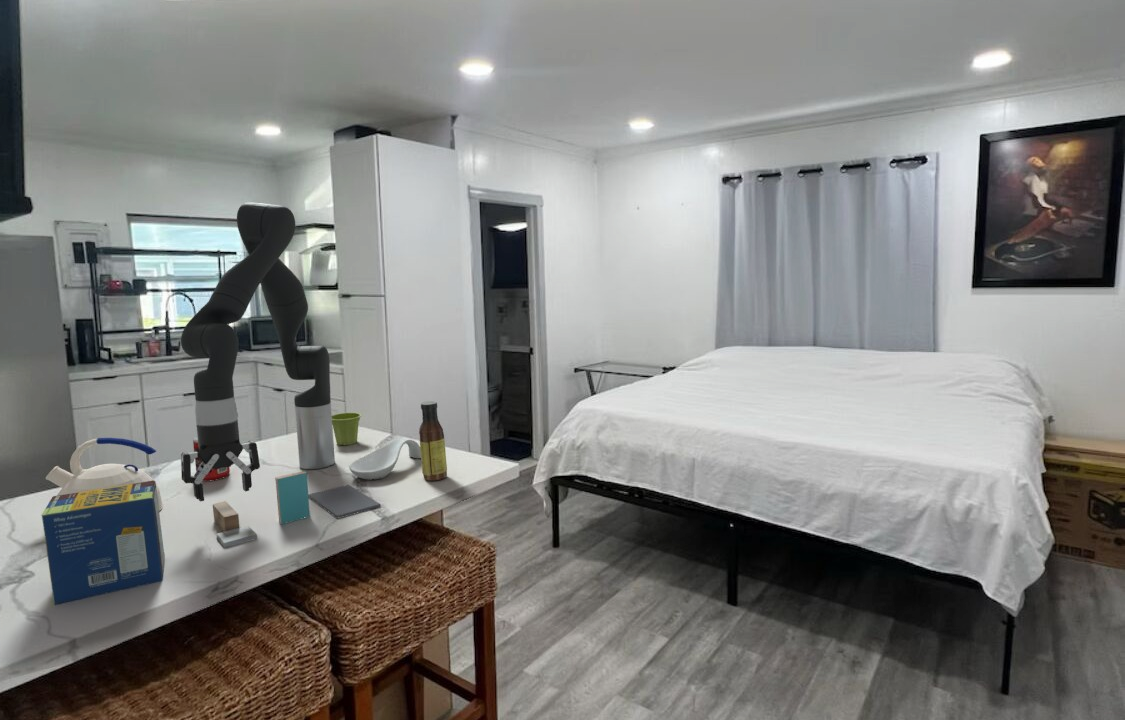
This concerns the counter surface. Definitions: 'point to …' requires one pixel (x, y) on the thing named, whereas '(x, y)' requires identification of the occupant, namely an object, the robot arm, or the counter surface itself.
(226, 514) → the tall tan post
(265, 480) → the counter surface
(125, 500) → the protein box
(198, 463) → the canned food
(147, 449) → the kettle
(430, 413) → the sauce bottle
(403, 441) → the spoon rest
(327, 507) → the mat
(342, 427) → the plant pot
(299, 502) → the tile
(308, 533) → the counter surface
